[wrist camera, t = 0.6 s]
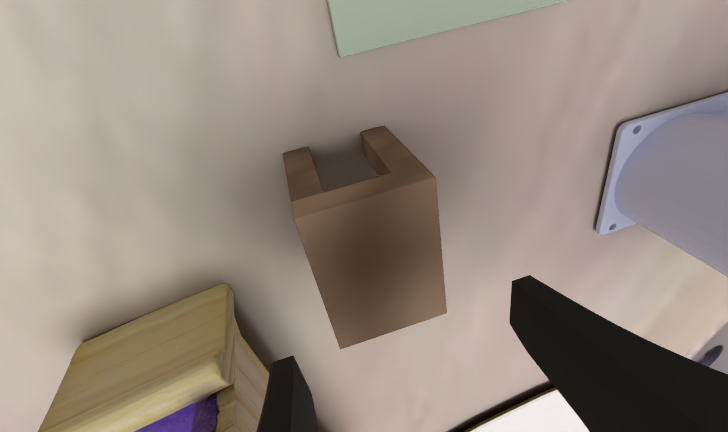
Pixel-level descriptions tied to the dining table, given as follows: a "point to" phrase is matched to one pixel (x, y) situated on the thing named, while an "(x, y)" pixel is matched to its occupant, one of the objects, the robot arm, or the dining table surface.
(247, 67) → the dining table surface
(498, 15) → the mat
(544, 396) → the plate
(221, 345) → the toy sofa
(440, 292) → the stool
